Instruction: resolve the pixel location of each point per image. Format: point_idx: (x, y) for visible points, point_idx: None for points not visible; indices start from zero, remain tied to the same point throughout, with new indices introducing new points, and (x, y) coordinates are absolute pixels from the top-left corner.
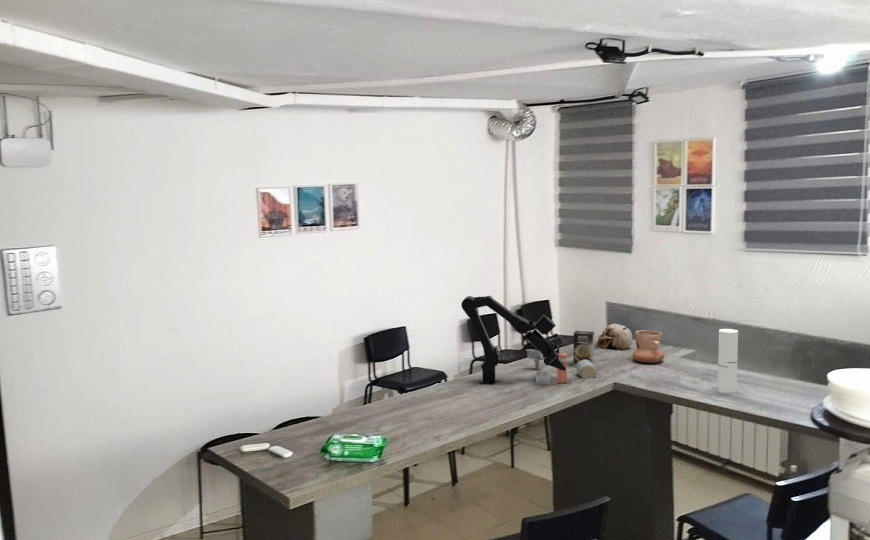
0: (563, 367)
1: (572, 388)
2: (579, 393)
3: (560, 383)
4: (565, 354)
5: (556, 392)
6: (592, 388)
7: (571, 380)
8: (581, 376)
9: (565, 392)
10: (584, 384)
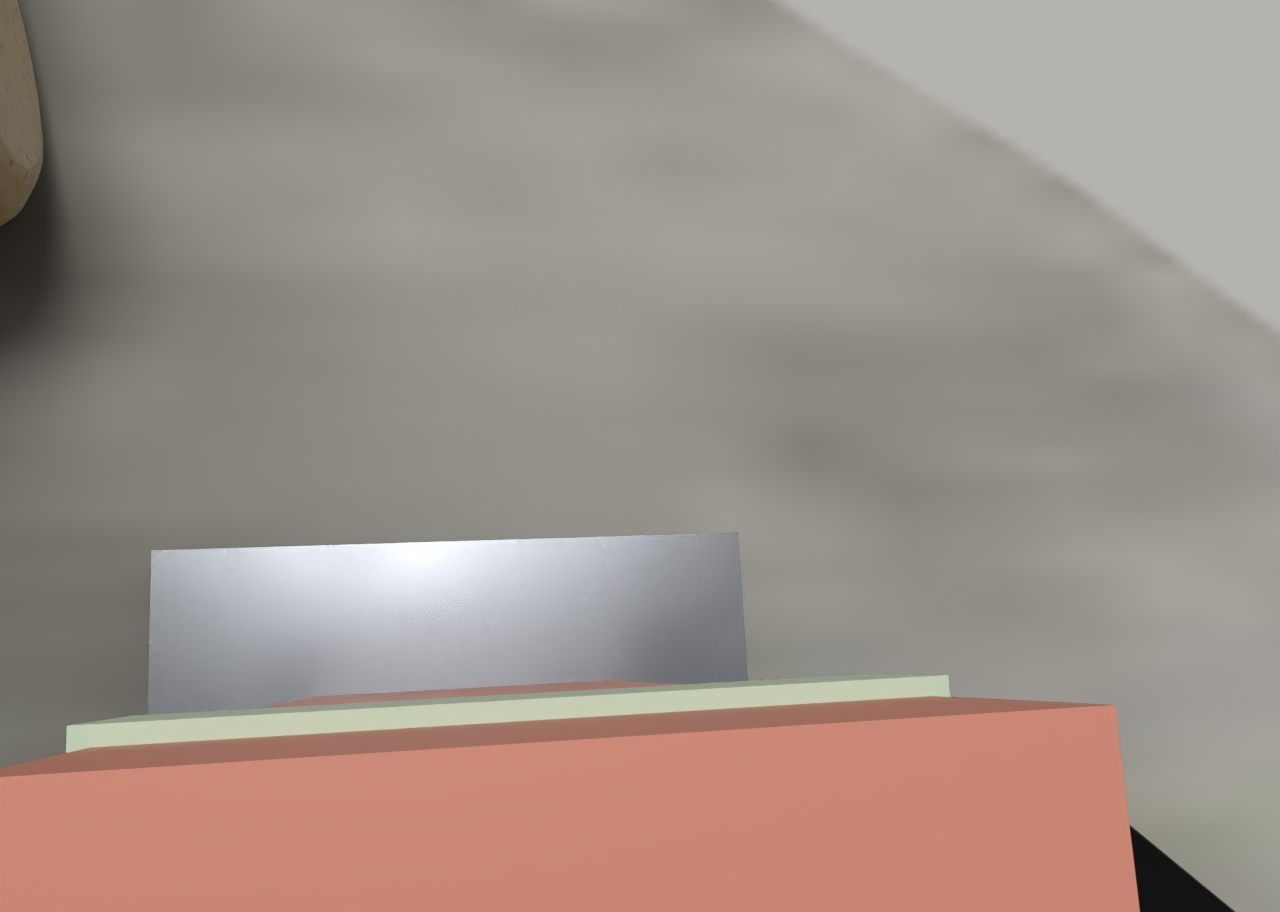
0: None
1: (839, 511)
2: (1195, 340)
3: None
4: (766, 874)
5: (1250, 902)
6: (753, 34)
7: (336, 547)
8: (7, 221)
9: (1198, 671)
10: (423, 204)
